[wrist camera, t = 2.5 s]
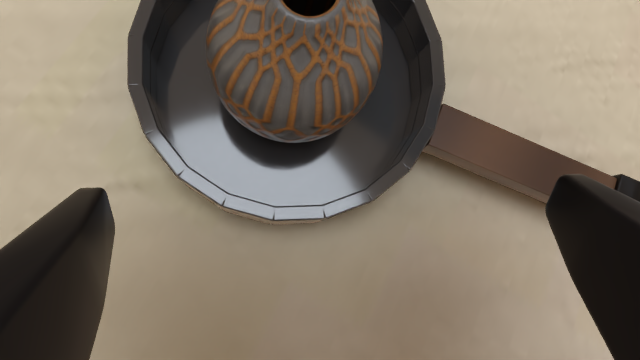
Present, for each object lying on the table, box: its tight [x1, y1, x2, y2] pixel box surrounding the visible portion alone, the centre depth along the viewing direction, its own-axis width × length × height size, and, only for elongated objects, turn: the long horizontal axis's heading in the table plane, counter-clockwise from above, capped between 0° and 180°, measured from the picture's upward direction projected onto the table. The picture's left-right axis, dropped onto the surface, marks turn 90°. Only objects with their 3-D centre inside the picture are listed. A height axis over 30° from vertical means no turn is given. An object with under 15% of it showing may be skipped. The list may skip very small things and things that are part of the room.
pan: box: [127, 0, 445, 225], centre depth 21 cm, size 13×13×3 cm
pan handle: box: [423, 104, 640, 203], centre depth 21 cm, size 10×2×2 cm, turn 69°
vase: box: [206, 0, 383, 143], centre depth 18 cm, size 7×7×9 cm
